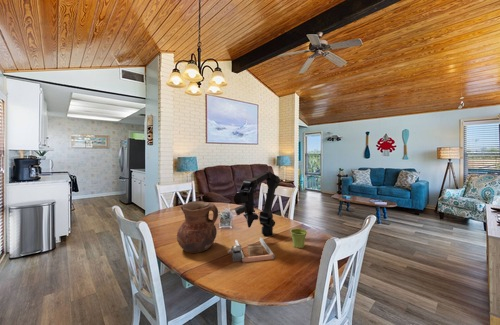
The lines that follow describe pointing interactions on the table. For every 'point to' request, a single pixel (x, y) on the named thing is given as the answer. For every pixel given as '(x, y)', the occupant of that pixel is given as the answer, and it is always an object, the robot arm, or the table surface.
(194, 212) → the jug
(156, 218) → the table surface
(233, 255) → the winch
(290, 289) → the table surface
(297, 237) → the plant pot
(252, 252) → the crate
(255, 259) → the bay
